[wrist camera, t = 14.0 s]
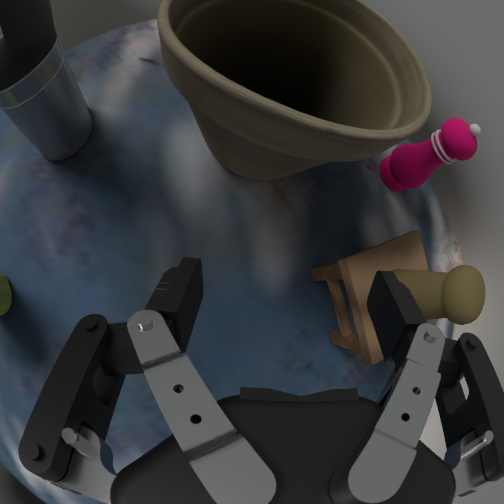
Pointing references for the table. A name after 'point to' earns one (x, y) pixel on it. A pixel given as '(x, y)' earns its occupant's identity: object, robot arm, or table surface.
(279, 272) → the table surface
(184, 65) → the plant pot
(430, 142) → the pepper mill
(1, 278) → the plant pot
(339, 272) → the footstool
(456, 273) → the cork
